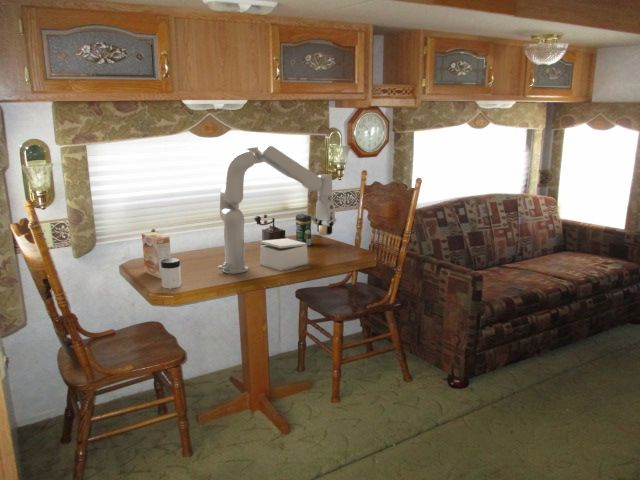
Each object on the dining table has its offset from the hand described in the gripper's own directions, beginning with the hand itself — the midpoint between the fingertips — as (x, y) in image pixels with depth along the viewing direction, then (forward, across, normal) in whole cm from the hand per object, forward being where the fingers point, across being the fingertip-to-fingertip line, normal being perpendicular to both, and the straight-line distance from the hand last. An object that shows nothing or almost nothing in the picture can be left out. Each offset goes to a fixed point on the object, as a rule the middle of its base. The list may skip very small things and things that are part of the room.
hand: (324, 232), depth 281 cm
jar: (+16, +19, +79) cm, 83 cm away
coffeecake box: (+16, +41, +74) cm, 86 cm away
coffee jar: (+16, +34, -16) cm, 41 cm away
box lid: (+5, +10, +20) cm, 22 cm away
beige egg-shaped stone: (+1, 0, 0) cm, 1 cm away
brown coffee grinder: (+16, +47, -1) cm, 50 cm away
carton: (+16, +10, +20) cm, 27 cm away
